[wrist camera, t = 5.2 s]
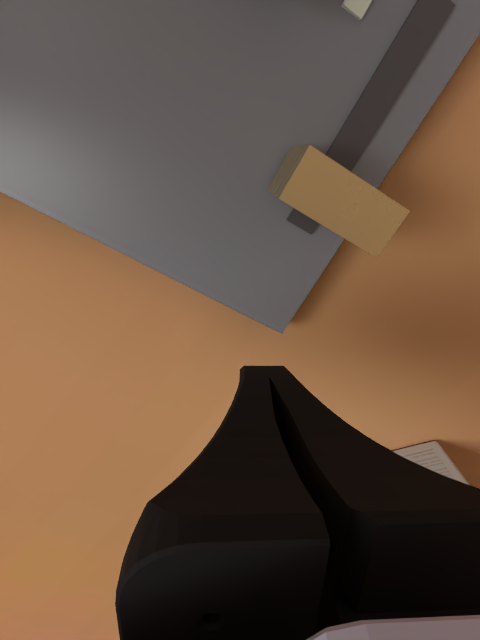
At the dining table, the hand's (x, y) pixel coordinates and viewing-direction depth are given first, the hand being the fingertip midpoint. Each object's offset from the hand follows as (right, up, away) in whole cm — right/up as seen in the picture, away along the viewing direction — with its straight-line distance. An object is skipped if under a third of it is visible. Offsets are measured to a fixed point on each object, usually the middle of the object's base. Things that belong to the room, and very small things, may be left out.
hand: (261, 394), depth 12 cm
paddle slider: (+3, +7, +3) cm, 8 cm away
